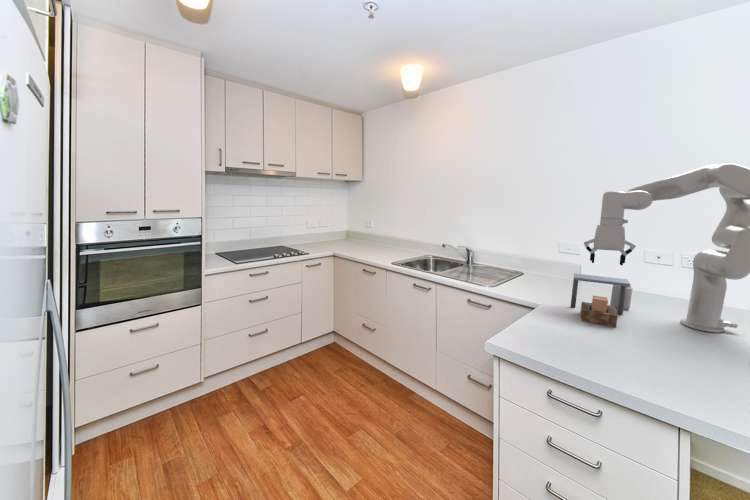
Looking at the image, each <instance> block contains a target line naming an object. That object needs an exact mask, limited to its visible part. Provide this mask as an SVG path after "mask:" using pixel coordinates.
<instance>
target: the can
mask: <svg viewBox="0 0 750 500" xmlns="http://www.w3.org/2000/svg"><path fill="white" fill-rule="evenodd" d="M620 288H621V286H620V285H612V289H611V295H610V296H611V297H610V302H609V306H614V307H615V310H618V303H619V296H620ZM633 289H634V288H633V287H632V284H631V283H630V287H628V286H627V287H626V294H625V301H624V308H623V311H626V310H629V309H630V308H631V303H632V297H633V296H632V294H633Z"/></svg>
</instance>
